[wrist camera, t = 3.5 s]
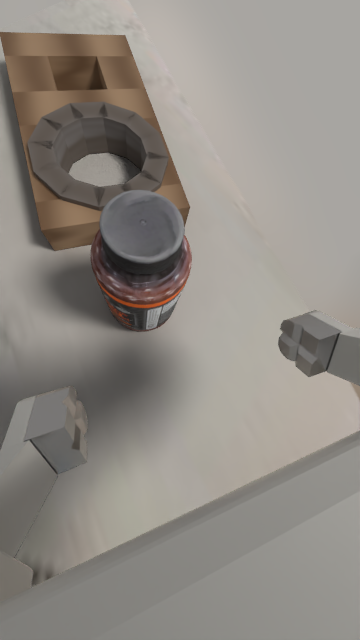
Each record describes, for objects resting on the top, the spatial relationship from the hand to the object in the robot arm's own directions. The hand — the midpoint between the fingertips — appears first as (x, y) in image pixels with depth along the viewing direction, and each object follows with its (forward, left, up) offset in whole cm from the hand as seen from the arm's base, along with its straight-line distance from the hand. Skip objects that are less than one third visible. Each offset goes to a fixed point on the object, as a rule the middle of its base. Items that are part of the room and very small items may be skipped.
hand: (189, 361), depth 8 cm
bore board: (0, +26, -12) cm, 28 cm away
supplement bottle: (0, +7, -12) cm, 14 cm away
